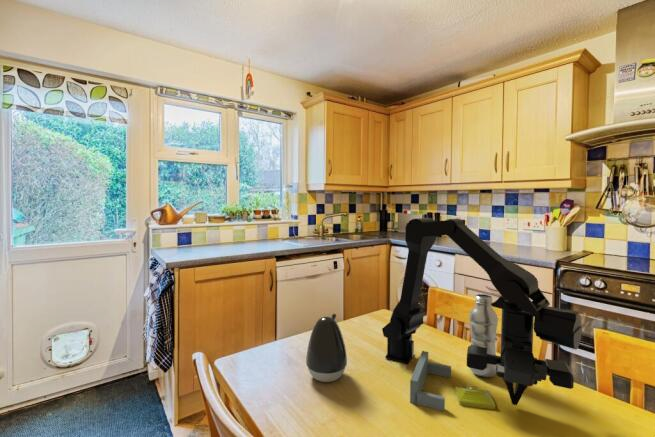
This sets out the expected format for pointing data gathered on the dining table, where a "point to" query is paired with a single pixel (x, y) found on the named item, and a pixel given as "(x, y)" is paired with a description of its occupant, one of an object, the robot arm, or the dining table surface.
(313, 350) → the dark grey egg shape
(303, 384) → the dining table surface
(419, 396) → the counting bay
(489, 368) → the plastic bottle
